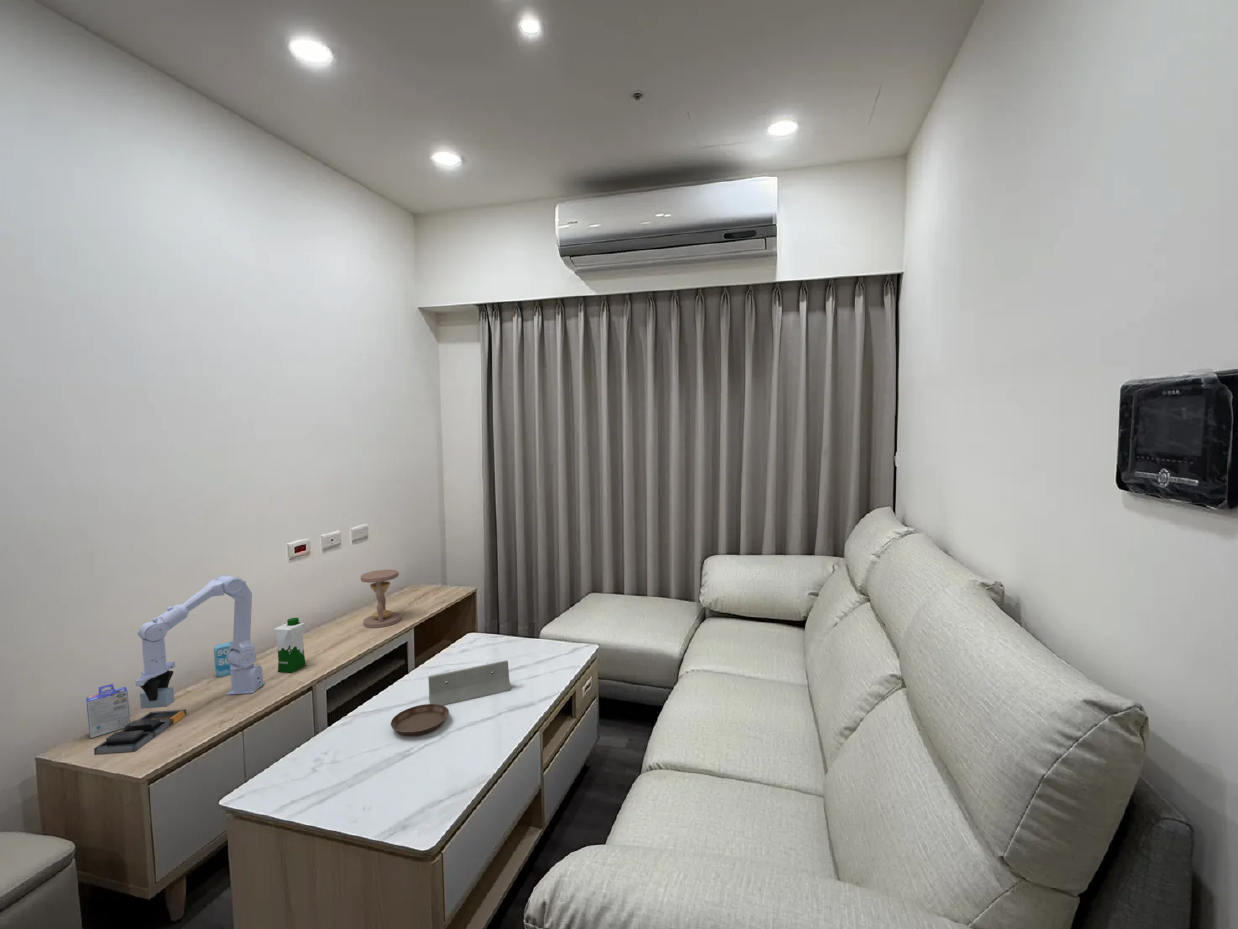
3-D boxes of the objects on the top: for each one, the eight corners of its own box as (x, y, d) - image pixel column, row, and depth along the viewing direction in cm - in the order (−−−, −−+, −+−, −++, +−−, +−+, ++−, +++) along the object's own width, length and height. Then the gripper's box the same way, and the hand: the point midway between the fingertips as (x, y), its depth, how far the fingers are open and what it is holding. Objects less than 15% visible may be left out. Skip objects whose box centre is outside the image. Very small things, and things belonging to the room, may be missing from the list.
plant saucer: (392, 718, 181) (391, 709, 180) (448, 707, 187) (447, 699, 186) (389, 746, 164) (389, 736, 164) (451, 733, 170) (450, 724, 170)
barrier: (506, 683, 204) (505, 657, 203) (511, 691, 197) (509, 664, 197) (428, 700, 192) (427, 672, 192) (430, 709, 186) (429, 681, 185)
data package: (216, 678, 216) (214, 648, 216) (215, 674, 220) (213, 645, 219) (252, 668, 224) (250, 640, 223) (251, 665, 227) (249, 637, 227)
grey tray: (187, 714, 187) (187, 704, 187) (136, 751, 166) (135, 740, 165) (150, 716, 186) (149, 707, 186) (94, 754, 165) (93, 743, 164)
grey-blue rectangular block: (174, 701, 185) (173, 687, 184) (166, 706, 181) (165, 692, 181) (149, 703, 184) (148, 688, 184) (140, 708, 181) (139, 693, 180)
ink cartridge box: (129, 720, 184) (125, 679, 184) (131, 726, 181) (127, 683, 180) (88, 733, 177) (84, 689, 176) (90, 739, 173) (86, 695, 173)
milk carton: (309, 665, 226) (306, 617, 225) (291, 674, 217) (288, 625, 216) (292, 663, 228) (288, 616, 227) (273, 672, 219) (270, 624, 218)
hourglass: (370, 617, 285) (367, 570, 283) (405, 615, 287) (402, 568, 285) (358, 629, 267) (355, 579, 266) (395, 626, 269) (392, 577, 268)
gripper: (158, 650, 189) (161, 688, 189) (124, 667, 174) (127, 709, 175) (180, 648, 189) (183, 686, 190) (147, 666, 175) (150, 707, 176)
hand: (157, 697), depth 183 cm, fingers closed on grey-blue rectangular block, 4 cm apart
